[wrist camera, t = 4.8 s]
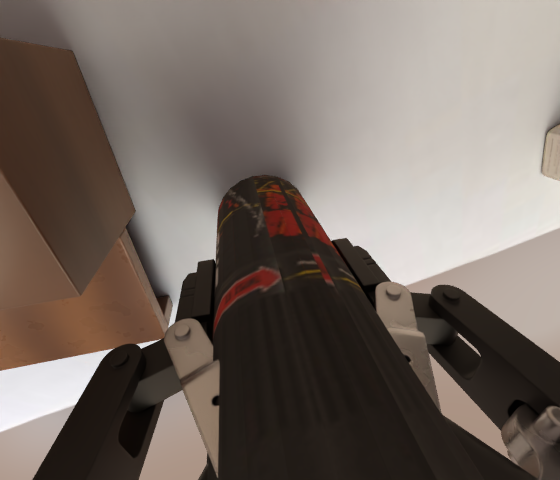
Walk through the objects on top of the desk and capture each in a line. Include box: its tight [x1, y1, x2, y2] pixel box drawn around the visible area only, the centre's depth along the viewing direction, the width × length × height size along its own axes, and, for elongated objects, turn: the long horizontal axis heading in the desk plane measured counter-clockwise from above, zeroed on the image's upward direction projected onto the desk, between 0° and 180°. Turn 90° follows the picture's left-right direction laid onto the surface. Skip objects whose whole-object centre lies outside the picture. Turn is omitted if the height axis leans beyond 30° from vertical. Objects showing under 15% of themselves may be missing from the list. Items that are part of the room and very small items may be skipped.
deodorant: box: [207, 175, 484, 480], centre depth 11 cm, size 6×6×15 cm
